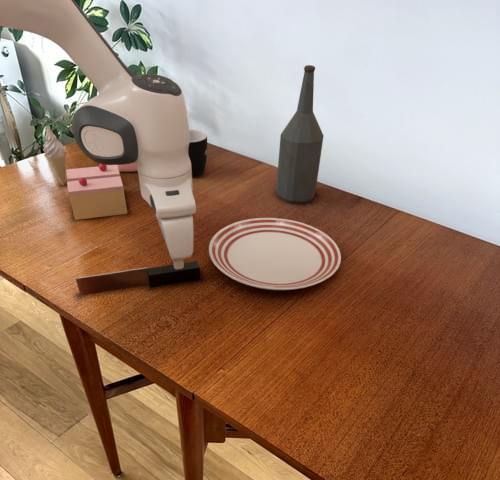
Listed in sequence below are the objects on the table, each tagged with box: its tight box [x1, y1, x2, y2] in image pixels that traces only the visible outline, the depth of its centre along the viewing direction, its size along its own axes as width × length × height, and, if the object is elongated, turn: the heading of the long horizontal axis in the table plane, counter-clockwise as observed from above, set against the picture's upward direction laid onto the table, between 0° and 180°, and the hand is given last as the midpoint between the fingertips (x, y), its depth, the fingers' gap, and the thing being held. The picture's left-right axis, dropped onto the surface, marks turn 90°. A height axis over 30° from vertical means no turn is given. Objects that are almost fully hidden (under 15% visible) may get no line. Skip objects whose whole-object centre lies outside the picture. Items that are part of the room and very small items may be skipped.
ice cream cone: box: [42, 125, 67, 186], centre depth 115 cm, size 5×5×15 cm
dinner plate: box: [208, 217, 342, 291], centre depth 97 cm, size 28×27×3 cm
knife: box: [75, 260, 201, 297], centre depth 89 cm, size 23×2×4 cm, turn 108°
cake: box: [65, 164, 128, 221], centre depth 110 cm, size 12×12×9 cm
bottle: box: [275, 64, 324, 204], centre depth 110 cm, size 10×10×30 cm
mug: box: [188, 128, 208, 178], centre depth 126 cm, size 12×9×10 cm
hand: (173, 253), depth 88 cm, fingers open, 8 cm apart
